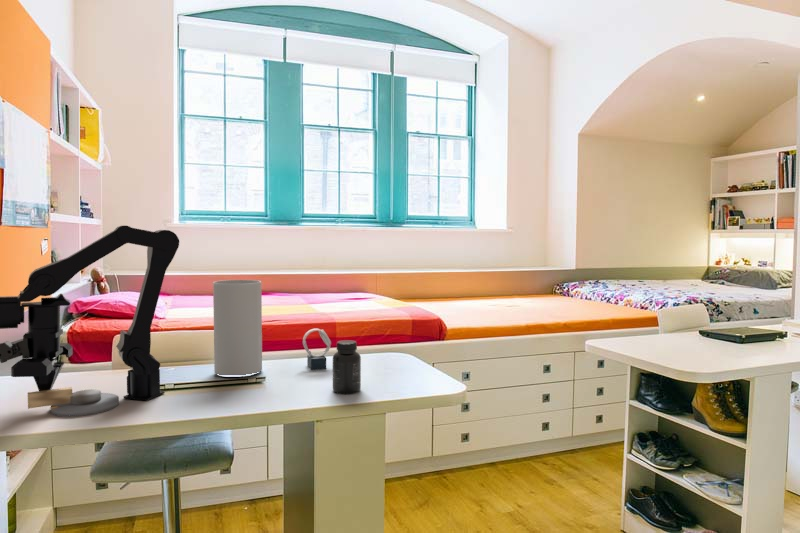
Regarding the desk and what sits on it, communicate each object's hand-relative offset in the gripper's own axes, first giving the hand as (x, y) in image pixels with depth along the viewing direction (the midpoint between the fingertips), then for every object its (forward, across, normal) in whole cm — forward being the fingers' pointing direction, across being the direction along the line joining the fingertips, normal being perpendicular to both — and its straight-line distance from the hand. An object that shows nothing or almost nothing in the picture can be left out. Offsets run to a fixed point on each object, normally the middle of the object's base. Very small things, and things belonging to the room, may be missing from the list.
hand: (44, 398), depth 120 cm
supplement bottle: (0, +1, +66) cm, 66 cm away
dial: (+1, +1, +4) cm, 5 cm away
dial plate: (+2, 0, +8) cm, 8 cm away
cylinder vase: (+2, -22, +40) cm, 46 cm away
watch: (+1, -24, +62) cm, 66 cm away
